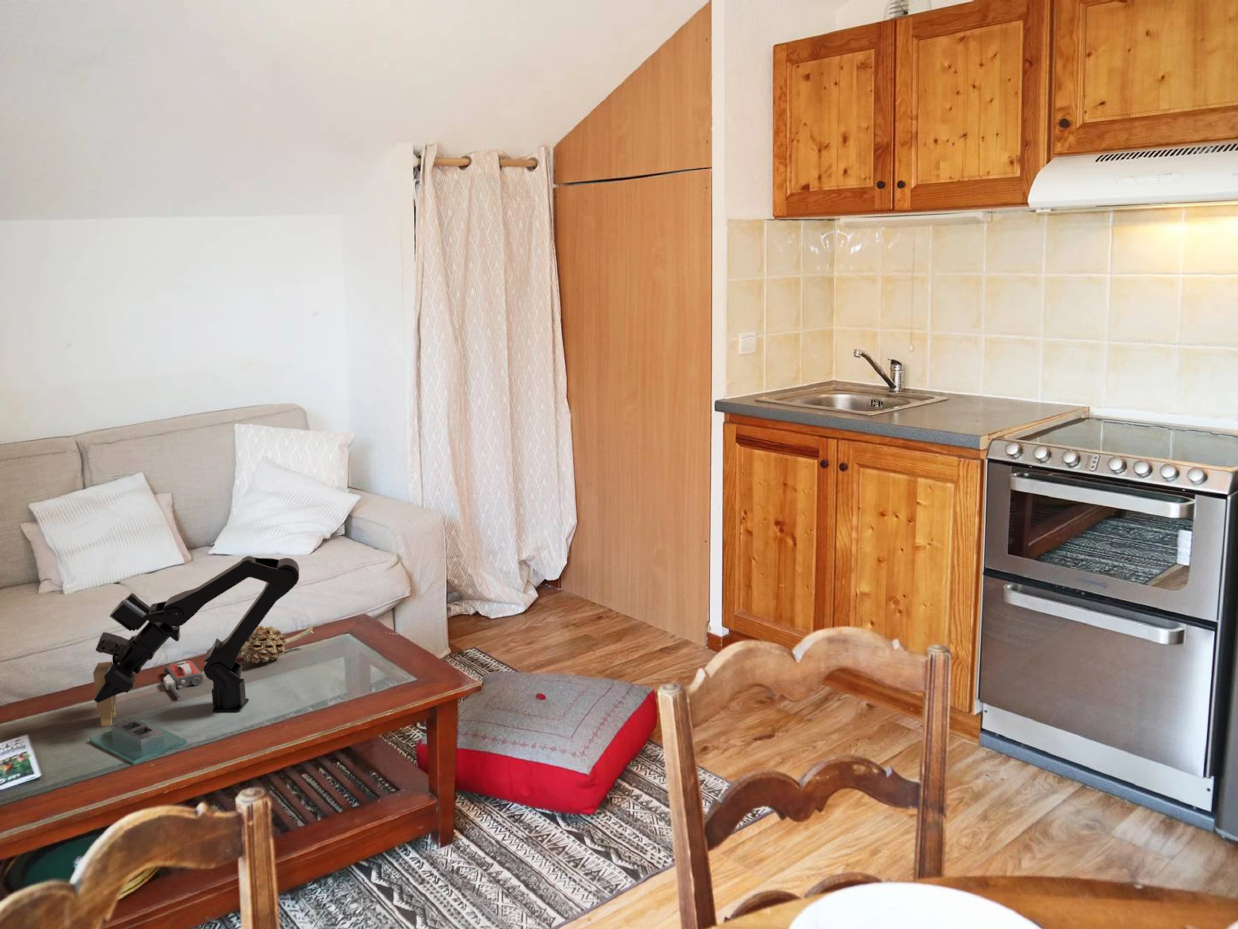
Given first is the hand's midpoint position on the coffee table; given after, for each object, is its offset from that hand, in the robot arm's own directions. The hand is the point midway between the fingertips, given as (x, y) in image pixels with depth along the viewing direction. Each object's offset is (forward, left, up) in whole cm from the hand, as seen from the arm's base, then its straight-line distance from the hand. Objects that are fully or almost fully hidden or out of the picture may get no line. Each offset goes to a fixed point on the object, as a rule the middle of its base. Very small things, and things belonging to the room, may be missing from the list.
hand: (99, 694), depth 243 cm
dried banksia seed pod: (-27, -39, -7) cm, 48 cm away
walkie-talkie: (-9, -22, -7) cm, 25 cm away
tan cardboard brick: (-1, 0, -7) cm, 7 cm away
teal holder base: (-13, +11, -7) cm, 18 cm away
